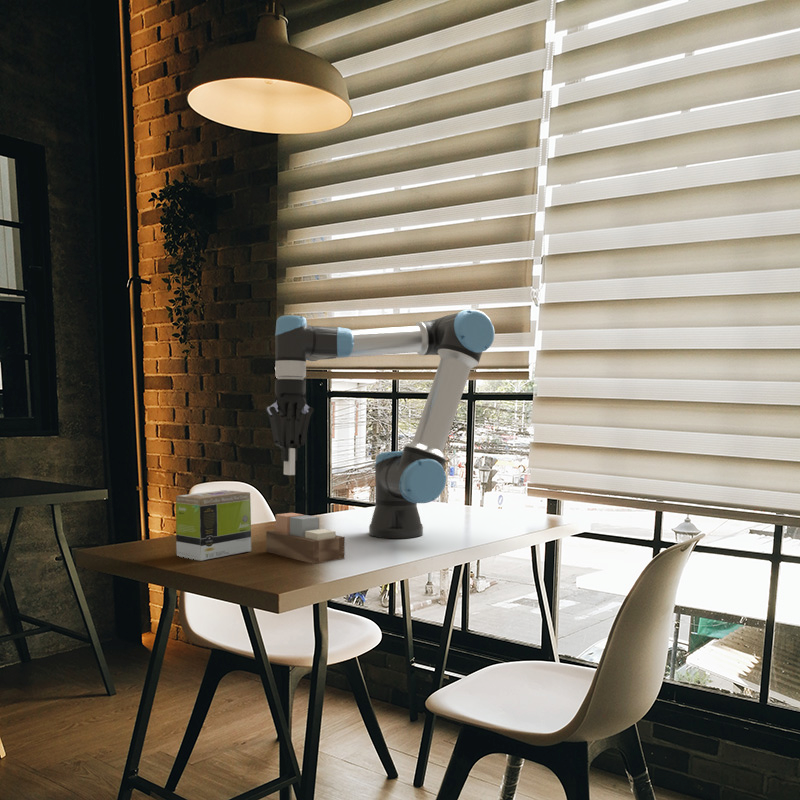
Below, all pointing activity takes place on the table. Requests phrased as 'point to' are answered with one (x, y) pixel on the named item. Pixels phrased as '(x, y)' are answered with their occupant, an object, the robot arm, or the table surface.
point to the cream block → (320, 534)
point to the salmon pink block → (284, 522)
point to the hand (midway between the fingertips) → (289, 474)
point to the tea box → (213, 524)
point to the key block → (305, 547)
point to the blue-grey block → (303, 524)
